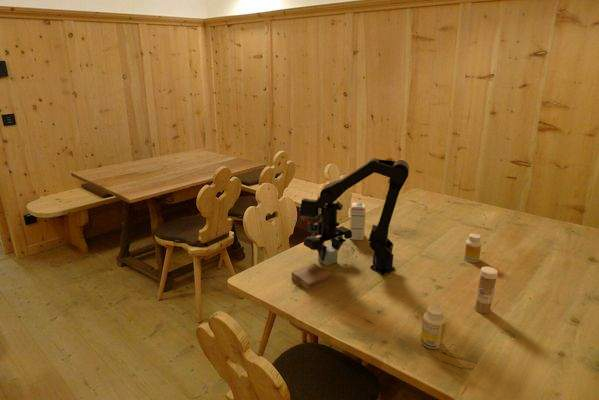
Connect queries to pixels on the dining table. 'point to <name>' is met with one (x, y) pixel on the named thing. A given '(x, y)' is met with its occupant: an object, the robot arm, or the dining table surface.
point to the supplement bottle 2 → (472, 248)
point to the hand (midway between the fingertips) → (327, 258)
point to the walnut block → (312, 277)
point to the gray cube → (329, 256)
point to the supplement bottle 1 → (433, 327)
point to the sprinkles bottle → (486, 289)
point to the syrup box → (357, 221)
